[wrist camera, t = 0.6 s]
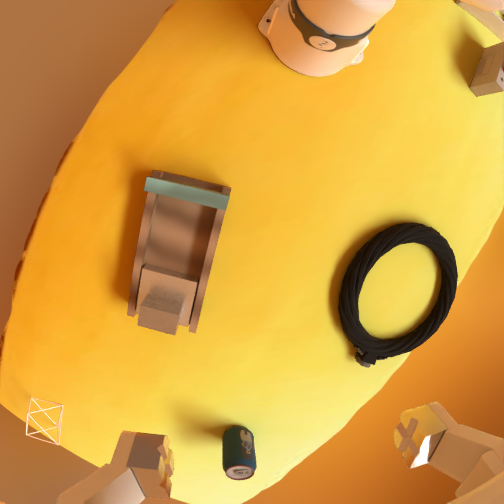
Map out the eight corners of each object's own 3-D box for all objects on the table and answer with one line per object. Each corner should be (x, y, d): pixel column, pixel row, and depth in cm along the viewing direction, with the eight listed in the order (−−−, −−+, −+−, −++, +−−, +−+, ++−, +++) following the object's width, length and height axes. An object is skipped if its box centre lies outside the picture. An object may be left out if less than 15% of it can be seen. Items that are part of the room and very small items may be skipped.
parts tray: (453, -27, 37) (466, -35, 31) (512, 21, 40) (524, 16, 34) (455, 3, 40) (469, -5, 34) (515, 53, 43) (529, 49, 37)
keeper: (146, 264, 49) (134, 277, 42) (198, 277, 50) (194, 293, 43) (139, 307, 50) (128, 325, 43) (189, 320, 51) (184, 340, 45)
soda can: (223, 443, 62) (223, 481, 50) (221, 424, 60) (221, 464, 48) (253, 442, 62) (257, 480, 50) (253, 423, 60) (257, 463, 49)
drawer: (158, 170, 47) (148, 170, 40) (231, 187, 48) (231, 189, 42) (133, 305, 52) (122, 321, 46) (197, 322, 53) (194, 340, 47)
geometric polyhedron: (49, 388, 56) (33, 411, 47) (77, 420, 58) (65, 444, 50) (26, 398, 57) (11, 419, 48) (52, 428, 59) (40, 449, 50)
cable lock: (479, 261, 51) (409, 381, 57) (468, 256, 55) (402, 372, 61) (389, 196, 47) (307, 349, 52) (379, 194, 50) (302, 339, 56)
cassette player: (476, 96, 46) (506, 90, 36) (469, 88, 46) (499, 80, 36) (490, 56, 43) (517, 48, 34) (483, 48, 43) (510, 39, 33)
